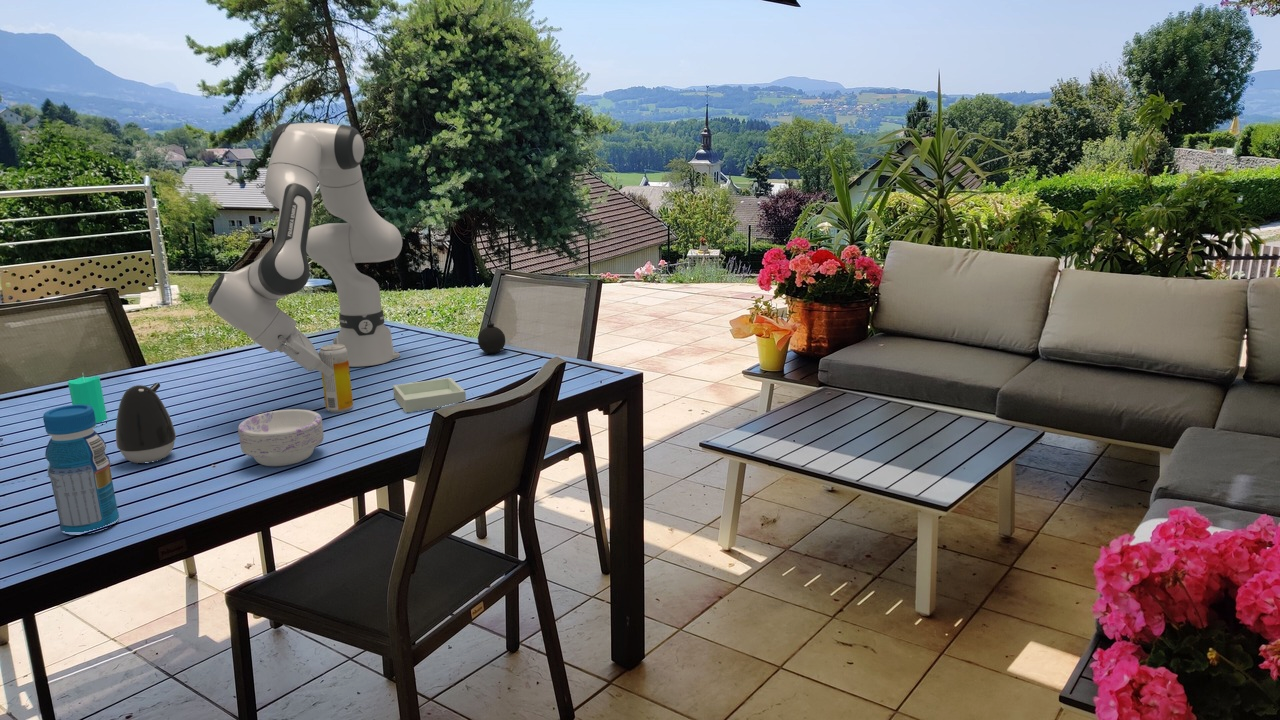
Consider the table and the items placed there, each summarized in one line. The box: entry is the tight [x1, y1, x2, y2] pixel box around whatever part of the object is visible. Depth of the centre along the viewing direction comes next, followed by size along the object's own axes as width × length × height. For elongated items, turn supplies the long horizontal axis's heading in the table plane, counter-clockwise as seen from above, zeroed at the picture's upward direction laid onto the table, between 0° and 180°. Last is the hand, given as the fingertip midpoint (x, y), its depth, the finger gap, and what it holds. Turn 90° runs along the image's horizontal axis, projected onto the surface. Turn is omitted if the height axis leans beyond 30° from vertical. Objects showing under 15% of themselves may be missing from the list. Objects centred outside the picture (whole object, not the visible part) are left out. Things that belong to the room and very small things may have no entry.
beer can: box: [318, 343, 354, 414], centre depth 197 cm, size 6×6×15 cm
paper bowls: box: [237, 408, 324, 467], centre depth 167 cm, size 15×15×8 cm
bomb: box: [477, 312, 506, 355], centre depth 247 cm, size 8×8×12 cm
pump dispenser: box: [115, 382, 177, 464], centre depth 168 cm, size 10×10×15 cm
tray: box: [392, 377, 467, 414], centre depth 203 cm, size 14×14×3 cm
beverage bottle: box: [42, 404, 120, 532], centre depth 137 cm, size 8×8×20 cm
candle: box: [67, 372, 108, 423], centre depth 190 cm, size 6×6×12 cm
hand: (328, 369), depth 196 cm, fingers open, 8 cm apart
